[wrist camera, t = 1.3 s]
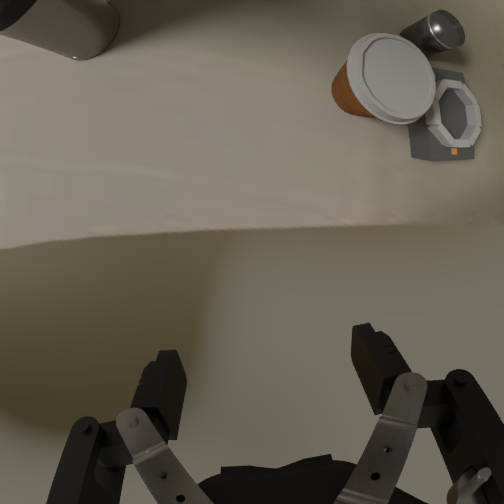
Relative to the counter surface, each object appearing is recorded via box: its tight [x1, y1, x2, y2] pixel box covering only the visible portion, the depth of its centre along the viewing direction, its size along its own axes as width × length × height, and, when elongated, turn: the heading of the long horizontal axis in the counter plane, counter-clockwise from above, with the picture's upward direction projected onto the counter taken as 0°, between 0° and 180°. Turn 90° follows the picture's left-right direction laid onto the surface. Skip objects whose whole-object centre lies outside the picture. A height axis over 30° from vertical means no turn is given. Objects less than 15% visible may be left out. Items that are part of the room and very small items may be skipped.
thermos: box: [400, 10, 465, 57], centre depth 24 cm, size 5×5×9 cm
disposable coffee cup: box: [332, 33, 436, 125], centre depth 26 cm, size 10×10×12 cm
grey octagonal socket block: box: [408, 68, 482, 161], centre depth 29 cm, size 12×8×7 cm
